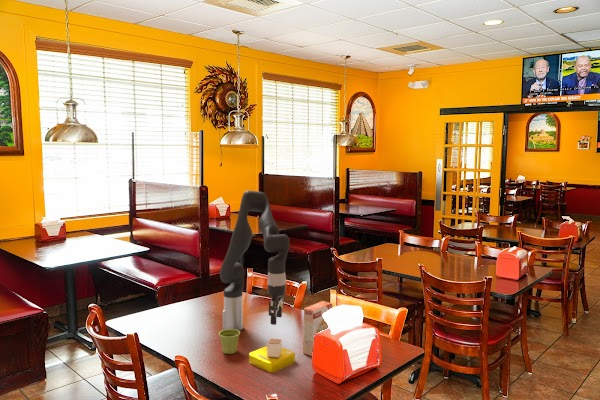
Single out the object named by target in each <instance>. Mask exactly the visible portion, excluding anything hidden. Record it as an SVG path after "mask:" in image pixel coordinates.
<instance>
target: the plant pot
mask: <svg viewBox="0 0 600 400" xmlns="http://www.w3.org/2000/svg"><path fill="white" fill-rule="evenodd" d="M240 334H241V330H240V331H239V330H236V329H226V330H223V329H222V330H220V331H219V332H218V336H219V338H220V342H221V348H222V353H223V354H229V355H233V354H235V353H237V350H238V343H239V337H240Z"/></svg>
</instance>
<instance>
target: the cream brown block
mask: <svg viewBox="0 0 600 400" xmlns="http://www.w3.org/2000/svg"><path fill="white" fill-rule="evenodd" d="M266 346H267V356H270V357H279V356H280V355H281V353H282V347H283V340H282V339H280V338H270V339H269V340H268V341H267V343H266Z"/></svg>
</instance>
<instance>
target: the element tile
mask: <svg viewBox="0 0 600 400" xmlns="http://www.w3.org/2000/svg"><path fill="white" fill-rule="evenodd" d="M295 362H296V353H295V351H292V350H290V349H287V348H285V347H283V346H282V353H281V355H280V356H279V357H270V356H267V345H266V346H263V347H260V348H258V349H256V350H253V351H250V352H249V353H248V363H249V364H250V365H252V366H255V367H256V368H259V369H261V370H263V371H265V372H267V373H275V372H278V371H280V370H281V369H284V368H286V367H288V366H290V365H292V364H294V363H295Z"/></svg>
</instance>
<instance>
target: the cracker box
mask: <svg viewBox="0 0 600 400" xmlns="http://www.w3.org/2000/svg"><path fill="white" fill-rule="evenodd" d="M330 308H332V309H333V303H331V302H328V301H324V300H322V301H319V302H317V303H314V304H312V305H309V306H306V307H304V308H303V329H302V330H303V334H302V335H303V338H302V344H303V346H302V348H303V349H302V354H304V355H308V356H309V357H312V352H313V342H314V335H315V334H316V333H318V332H320V331H322V330H325V329H327V328H328V325H327V323H326V322H325V321H324V319H323V317H322V314H323V313H324V312H326V311H327V310H329V309H330Z"/></svg>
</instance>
